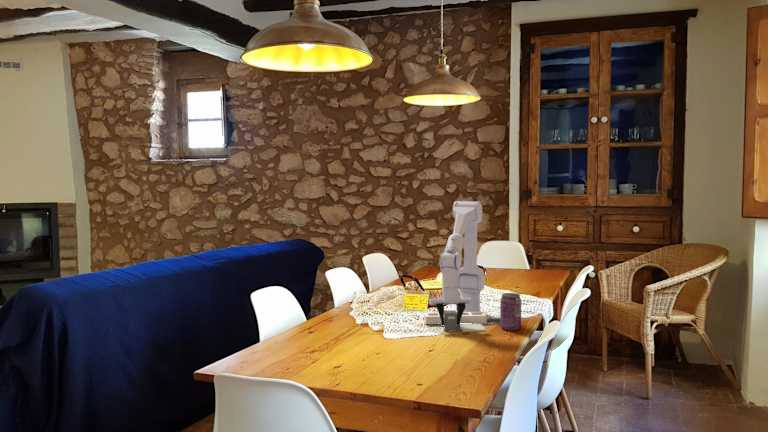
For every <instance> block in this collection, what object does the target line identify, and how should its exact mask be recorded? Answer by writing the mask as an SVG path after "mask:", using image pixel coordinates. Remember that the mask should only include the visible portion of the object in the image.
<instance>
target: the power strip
mask: <svg viewBox="0 0 768 432" xmlns="http://www.w3.org/2000/svg"><path fill="white" fill-rule="evenodd" d="M487 317H488V316H487V314H486V313H485V312H484V311H480V312H463V314H462V317H461V320H460V323H472V324H475V323H476V324H481V325H483V324H484V325H487V322H500V317H499V318H487ZM424 320H425V322H424V324H425V323H426V324H438V323H439V324H441V319H440V315H439V312H438V311H437V312H424V313H423V321H424ZM426 324H425V325H426Z"/></svg>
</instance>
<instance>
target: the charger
mask: <svg viewBox="0 0 768 432" xmlns="http://www.w3.org/2000/svg"><path fill="white" fill-rule="evenodd" d="M444 327H445V328H444ZM443 328H444V331H457V330H458V325H457V310H455V309H454V310H453V309H452V310H444V326H443Z"/></svg>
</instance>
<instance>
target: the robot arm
mask: <svg viewBox="0 0 768 432" xmlns="http://www.w3.org/2000/svg"><path fill="white" fill-rule="evenodd" d="M452 214H453V218H454V226H453V231H452V234H449V236H448V239H447V242H446V245H445V248H444V252H442V253H441V254H440V256H439V267H440V273H441V274H442V275H441V284H442V285H441V286H442V288H441V290H442V291H441V292H442V293H441V297H434V298H429V300H428V301H429V305H430V306H434V305H435V307H436V309H437V313H438V312H439V315H440V319H441V325H444V311H445V307H444V305H456V312H457V326H459V325H460V320H461V317H462V314H463V312H481V292H482V291H483V290H484V289H485V285H486V282H485V280H486V278H485V273H484V269H482V268H481V267H479V266H478V265H477V263H478V262H477V258H478V257H477V256H478V255H477V254H478V226H479V224H480V223H481V222H482V220H483V206H482V203H481V202H480V201H479V200H478V201H465V200H463V201H462V200H461V201H460V200H456V201H454V203H453V205H452ZM463 236H464V237H463ZM463 247H464V249H463ZM462 251H464V253H463V254H464V255H463V256H462ZM462 257H463V259H464V260H463V266H462V267H461V265H462ZM459 292H460V293H459ZM459 295H460V297H459Z"/></svg>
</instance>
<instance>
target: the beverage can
mask: <svg viewBox="0 0 768 432" xmlns="http://www.w3.org/2000/svg"><path fill="white" fill-rule="evenodd" d="M499 306H500V313H499V314H500V317H499V318H500V321H499V322H500V325H499V326H500V328H502V329H503V330H506V331H517V330H519V329H521V328H522V299H521V294H519V293H513V292H506V293H502V294H501V297H500V305H499Z"/></svg>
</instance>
